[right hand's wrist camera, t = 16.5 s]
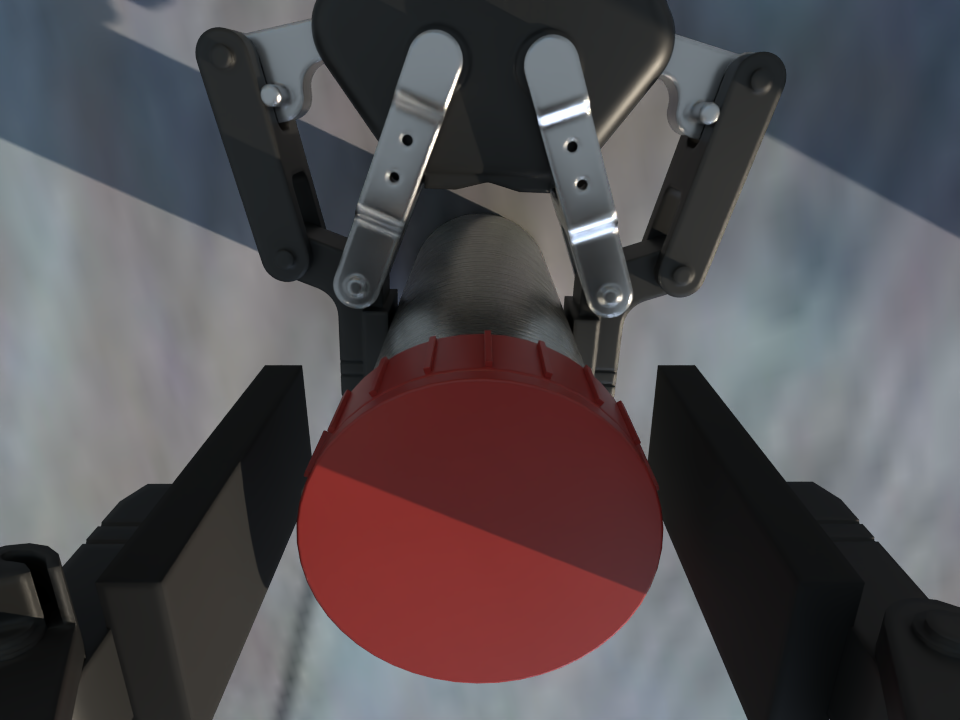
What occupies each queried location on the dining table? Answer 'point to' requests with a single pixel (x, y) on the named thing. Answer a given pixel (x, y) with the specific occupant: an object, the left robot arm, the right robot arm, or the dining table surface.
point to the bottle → (480, 289)
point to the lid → (479, 511)
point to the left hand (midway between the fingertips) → (477, 420)
